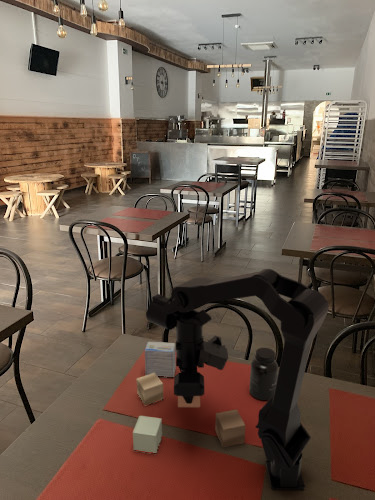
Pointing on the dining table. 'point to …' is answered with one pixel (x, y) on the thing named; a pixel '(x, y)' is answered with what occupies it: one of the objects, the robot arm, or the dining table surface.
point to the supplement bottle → (263, 374)
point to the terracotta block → (194, 404)
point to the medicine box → (160, 359)
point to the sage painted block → (147, 434)
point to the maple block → (150, 388)
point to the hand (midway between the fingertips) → (189, 395)
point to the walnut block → (230, 428)
